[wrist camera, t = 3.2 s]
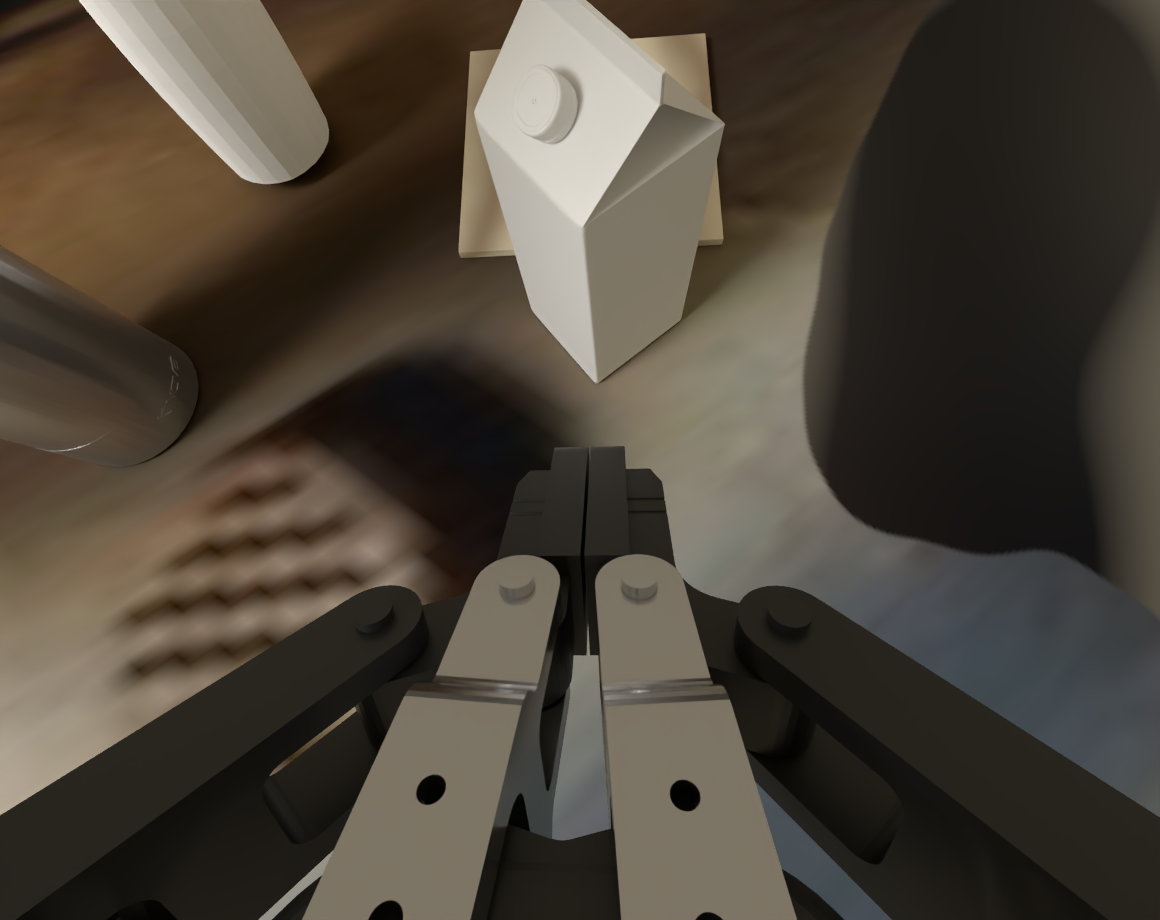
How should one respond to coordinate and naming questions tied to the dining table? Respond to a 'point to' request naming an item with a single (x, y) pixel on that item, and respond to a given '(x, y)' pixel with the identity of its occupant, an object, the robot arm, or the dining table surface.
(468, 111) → the birch board
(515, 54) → the milk carton
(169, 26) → the cup
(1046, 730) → the dining table surface
